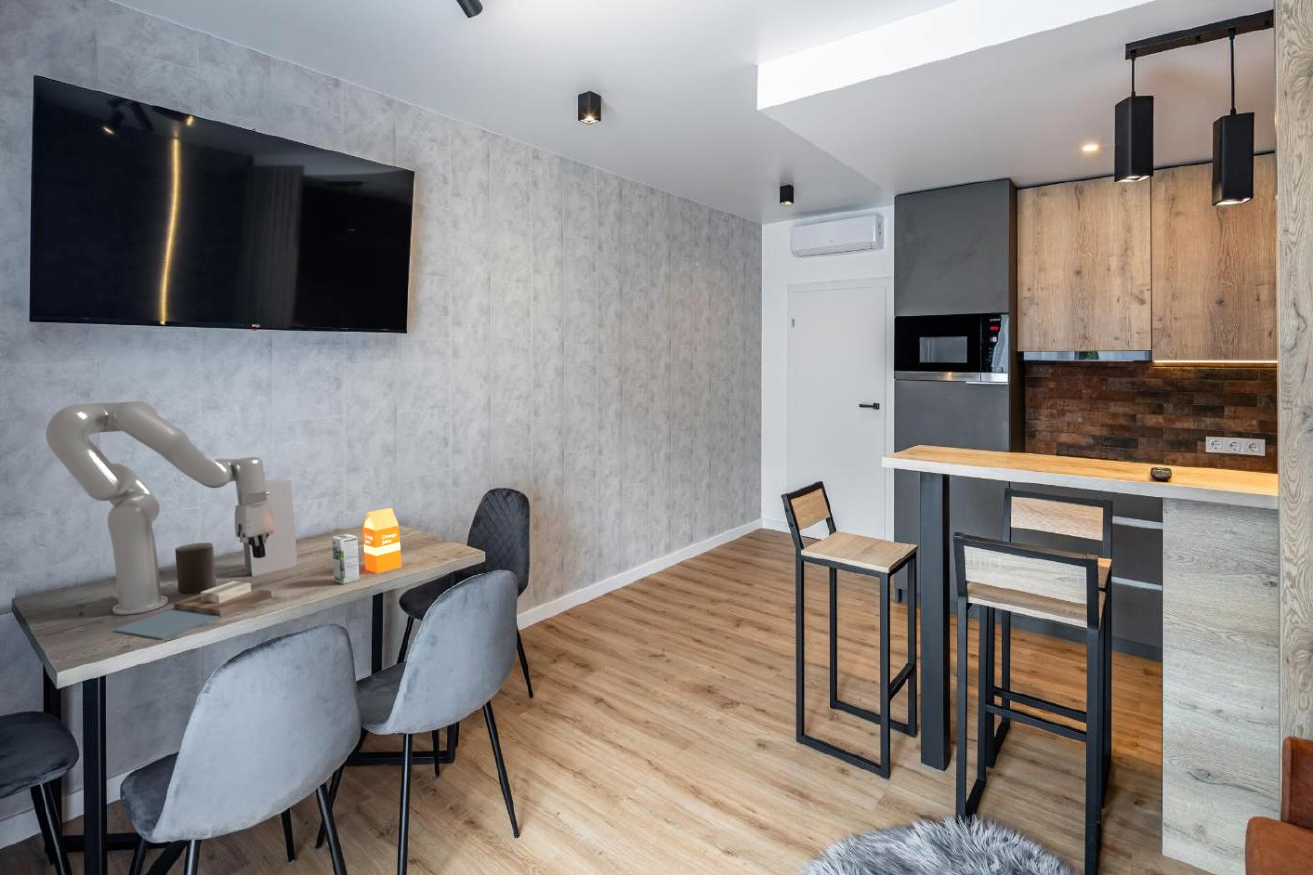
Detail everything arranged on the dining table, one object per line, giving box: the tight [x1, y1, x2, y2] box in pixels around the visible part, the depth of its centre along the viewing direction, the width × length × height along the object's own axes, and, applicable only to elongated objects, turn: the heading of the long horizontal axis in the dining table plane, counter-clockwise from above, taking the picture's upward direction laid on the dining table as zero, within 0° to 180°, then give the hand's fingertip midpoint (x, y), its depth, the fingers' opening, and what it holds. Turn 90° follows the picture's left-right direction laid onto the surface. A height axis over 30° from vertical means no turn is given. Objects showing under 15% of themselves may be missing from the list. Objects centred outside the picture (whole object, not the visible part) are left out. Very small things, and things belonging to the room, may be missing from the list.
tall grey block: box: [242, 478, 298, 577], centre depth 221 cm, size 14×6×30 cm, turn 141°
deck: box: [173, 587, 273, 618], centre depth 191 cm, size 18×16×2 cm
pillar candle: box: [174, 542, 217, 595], centre depth 203 cm, size 10×10×15 cm
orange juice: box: [362, 507, 402, 574], centre depth 221 cm, size 8×9×20 cm
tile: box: [200, 580, 252, 603], centre depth 191 cm, size 7×10×2 cm
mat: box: [113, 608, 220, 641], centre depth 176 cm, size 18×15×1 cm
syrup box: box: [331, 533, 360, 585], centre depth 209 cm, size 6×6×14 cm
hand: (259, 557), depth 201 cm, fingers closed
